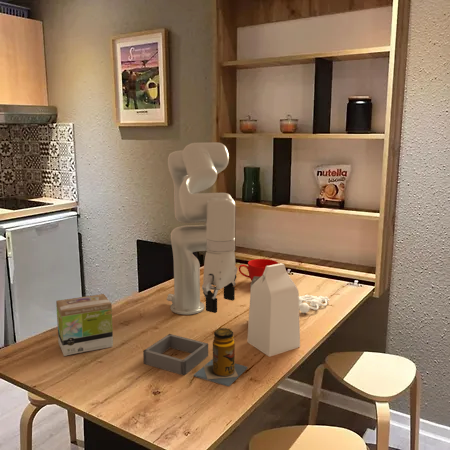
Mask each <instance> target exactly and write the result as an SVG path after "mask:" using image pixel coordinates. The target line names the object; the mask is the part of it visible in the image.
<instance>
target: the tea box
mask: <svg viewBox="0 0 450 450" xmlns="http://www.w3.org/2000/svg"><path fill="white" fill-rule="evenodd" d="M55 305H56V307H55V308H56V324H57V340H58V341H57V342H58V345H59V348H60V350H61V352H62V354H63V357H67V356H71V355H75V354H80V353H85V352H86V353H87V352H91V351H96V350H101V349H107V348H108V349H109V348H112V347H113V346H114V345H113V344H114V342H113V341H114V340H113V339H114V337H113V336H114V335H113V334H114V333H113V331H114V330H113V310H112V309H113V307H112V306H113V305H112V303H111V301H110V300H109V298H108V297H107V295H106V294H105V293H100V294H99V293H98V294H93V295H87V296H80V297H73V298H67V299H59V300H56V304H55Z"/></svg>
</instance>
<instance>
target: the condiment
mask: <svg viewBox="0 0 450 450" xmlns="http://www.w3.org/2000/svg"><path fill="white" fill-rule="evenodd" d="M213 332H214V333H213V340H212V359H213V365H210V366H208V365H206V364H205V365H206V366H205V365H203V366H204V370H205V373H206V376H207V379H217V378H229V377H237V376H238V374H237V372H236V370H235V368H234V367H235V364H236V363H235V362H236V361H235V355H236V354H235V351H236V350H235V348H236V347H235V346H236V344H235V340H234V331H233V329H229V328H227V327H224V328H220V327H219V328H217V329H215V331H213Z"/></svg>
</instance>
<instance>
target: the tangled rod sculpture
mask: <svg viewBox="0 0 450 450" xmlns="http://www.w3.org/2000/svg"><path fill="white" fill-rule="evenodd" d="M330 301H331V299H329V296H322V295H317V296H314V295H310V294H305V295H301V296H299V312H301V313H302V314H306V313H309V312H310V309H311V310H314V311H317V310H319V309H320V308H319V307H326V306H327V305H328V302H330ZM322 302H325V303H322ZM308 303H309V304H308Z"/></svg>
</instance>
